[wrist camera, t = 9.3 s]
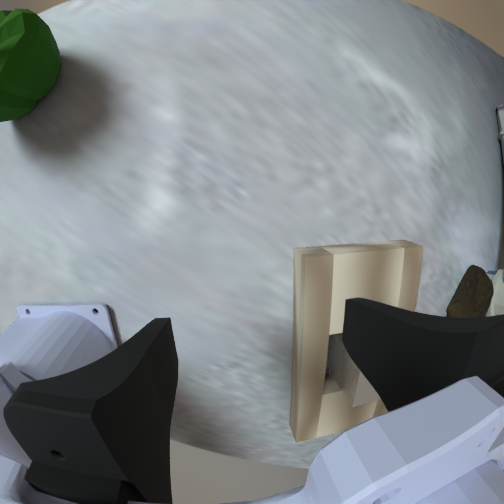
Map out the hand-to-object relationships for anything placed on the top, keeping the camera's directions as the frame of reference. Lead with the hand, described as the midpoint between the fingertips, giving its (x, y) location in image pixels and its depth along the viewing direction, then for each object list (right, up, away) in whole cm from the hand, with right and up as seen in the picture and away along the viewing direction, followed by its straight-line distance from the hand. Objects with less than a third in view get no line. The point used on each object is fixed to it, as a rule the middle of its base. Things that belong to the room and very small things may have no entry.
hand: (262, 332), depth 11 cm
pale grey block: (+8, -5, +12) cm, 15 cm away
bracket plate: (+8, -5, +12) cm, 15 cm away
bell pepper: (-18, +17, +3) cm, 25 cm away
